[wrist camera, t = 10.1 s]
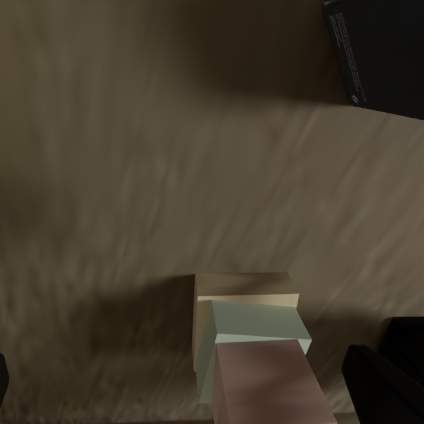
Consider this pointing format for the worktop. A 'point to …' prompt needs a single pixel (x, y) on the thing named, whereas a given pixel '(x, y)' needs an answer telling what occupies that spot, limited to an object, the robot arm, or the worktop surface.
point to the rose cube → (266, 385)
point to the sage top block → (243, 333)
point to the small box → (380, 53)
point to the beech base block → (238, 295)
